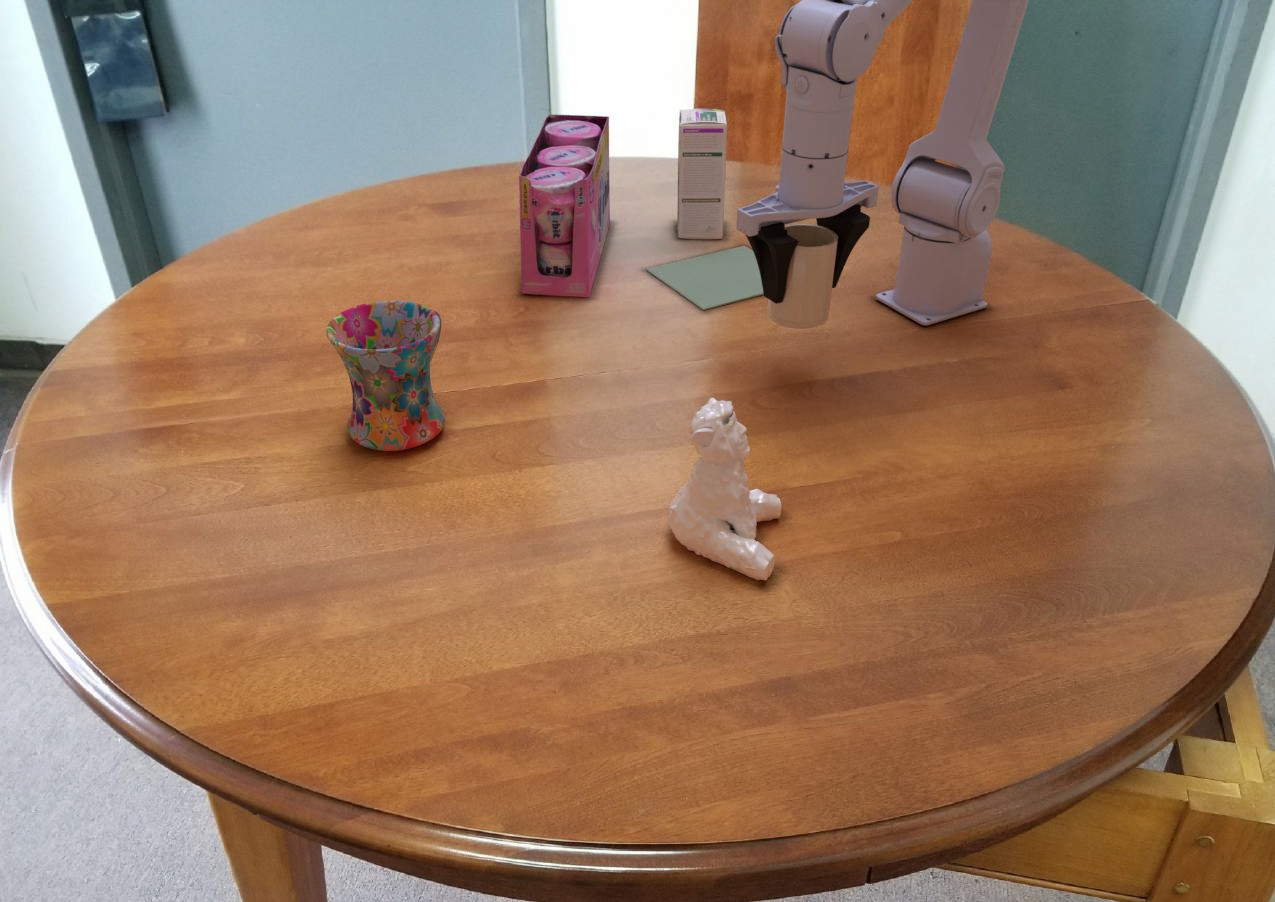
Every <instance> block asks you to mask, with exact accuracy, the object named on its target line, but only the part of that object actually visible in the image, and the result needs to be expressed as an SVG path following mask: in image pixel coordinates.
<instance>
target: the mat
mask: <svg viewBox="0 0 1275 902" xmlns="http://www.w3.org/2000/svg"><path fill="white" fill-rule="evenodd" d="M645 271H646V272H647V273H649V274H650V275H652V276H654V278H656V279H658V280H659V281H660V282H661V283H663V284H665V285H667V286H668V287H669V288H670V289H672V290H673V291H675V292H676V293H678V294H679V295H680V296H682V297H683V298H685V299H687V300H688V301H689V302H690V303H692V304H694V306H696V307H697V308H699V309H700V310H702V311H707V310H710V309H715V308H718V307H721V306H725V305H729V304H733V303H737V302H740V301H745V300H748V299H752V298H756V297H759V296H764V294H763V287H762V281H761V276H760V271H759V267H758V264H757V260H756V257H755V255H754V252H753V249H752V248H749V247H748V246H746V245H741V246H737V247H733V248H732V247H731V248H728V249H724V250H720V251H715V252H711V253H708V254H707V253H706V254H703V255H700V256H694V257H689V258H686V259H682V260H678V261H673V262H670V263H665V264H660V265H657V266H653V267H648V268H646V270H645Z"/></svg>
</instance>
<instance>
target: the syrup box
mask: <svg viewBox="0 0 1275 902" xmlns="http://www.w3.org/2000/svg"><path fill="white" fill-rule="evenodd" d="M727 137H728V122H727V116H726V110H724V109H719V108H687V109H679V117H678V142H677V143H678V144H677V145H678V147H677V149H678V151H677V152H678V154H677V208H676V211H677V212H676V213H677V214H676V216H677V217H676V219H677V220H676V223H677V238H678V239H685V240H723V237H724V218H725V201H726V200H725V197H726V177H727V176H726V173H727V172H726V171H727V139H728V138H727Z"/></svg>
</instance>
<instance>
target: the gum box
mask: <svg viewBox="0 0 1275 902" xmlns="http://www.w3.org/2000/svg"><path fill="white" fill-rule="evenodd" d="M518 186H519V189H518V190H519V230H520V231H519V232H520V235H519V237H520V275H521V277H520V278H521V294H522V295H523V294H525V295H526V294H527V295H541V296H553V297H554V296H556V297H557V296H558V297H577V298H590V296H591V292H592V288H593V284H594V282H595V280H596V276H597V272H598V268H599V265H600V261H601V256H602V254H603V250H604V246H605V243H606V239H607V236H608V232H609V229H610V225H611V214H610V212H611V210H610V209H611V208H610V207H611V206H610V205H611V203H610V202H611V201H610V199H611V198H610V194H611V193H610V191H611V190H610V188H611V187H610V116H608V115H607V116H606V115H605V116H604V115H583V114H582V115H580V114H552V113H551V114H547V116H546V117H545V119H544V121H543V123H542V126H541V128H540V130H539V133H538V135H537V137H536V139H535V141H534V142H533V144H532V147H531V150H530V151H529V153H528V155H527V157H526V158H525V161H524V162H523V165H522V167H521V168H520V171H519V173H518Z"/></svg>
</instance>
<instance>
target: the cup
mask: <svg viewBox="0 0 1275 902" xmlns="http://www.w3.org/2000/svg"><path fill="white" fill-rule="evenodd" d="M784 229H785V230H788V231H787V235H789V236H791V237H793V238H795V239H796V240H798V241H799V243H798V244H797V246H796V249H795V251H794V253H793V256H792V259H791V262H790V265H789V269H788V274H787V282H786V290H785V295H784V299H783V302H781V303H778V304H776V303H774V302H772V301H771V300H769V299H768V298H767V303H766V304H767V306H766V308H767V311H766V313H767V317H768V318H769V320H771V321H772V322H773V323H775V324H777V325H780V326H782V327H785V328H791V329H800V330H801V329H802V330H805V329H806V330H807V329H813V328H817V327H820V326H822V325H824V324H826V323H827V322H828V320H829V316H830V311H831V301H832V294H833V288H832V287H833V278H834V270H835V262H836V253H837V245H838V236H837V234H836V233H835V232H834V231H832V230H830V229H828V228H826V227H822V226H818V225H817V224H812V223H790V224H785V228H784Z"/></svg>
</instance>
